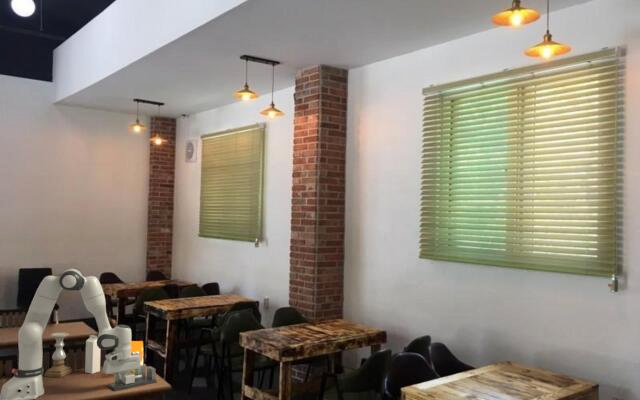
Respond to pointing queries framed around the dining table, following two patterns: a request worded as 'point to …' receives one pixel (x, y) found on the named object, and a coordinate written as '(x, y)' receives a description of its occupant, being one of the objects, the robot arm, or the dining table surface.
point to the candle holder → (59, 357)
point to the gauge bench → (138, 382)
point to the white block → (130, 378)
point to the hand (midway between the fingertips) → (121, 379)
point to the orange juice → (137, 348)
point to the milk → (92, 355)
